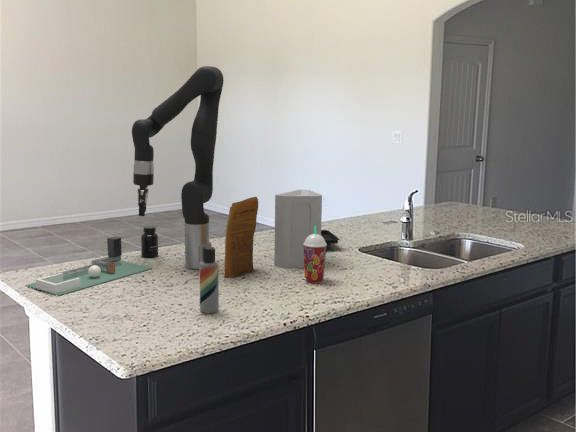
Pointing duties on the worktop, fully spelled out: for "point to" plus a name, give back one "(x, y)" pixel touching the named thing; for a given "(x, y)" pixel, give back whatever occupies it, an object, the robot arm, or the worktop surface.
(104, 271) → the field
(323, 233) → the tray
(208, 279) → the lotion bottle
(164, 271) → the worktop surface
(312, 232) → the paper bag
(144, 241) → the supplement bottle
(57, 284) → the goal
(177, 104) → the robot arm
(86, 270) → the rail
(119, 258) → the block
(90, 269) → the ball
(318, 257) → the smoothie
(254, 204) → the pancake mix bag
